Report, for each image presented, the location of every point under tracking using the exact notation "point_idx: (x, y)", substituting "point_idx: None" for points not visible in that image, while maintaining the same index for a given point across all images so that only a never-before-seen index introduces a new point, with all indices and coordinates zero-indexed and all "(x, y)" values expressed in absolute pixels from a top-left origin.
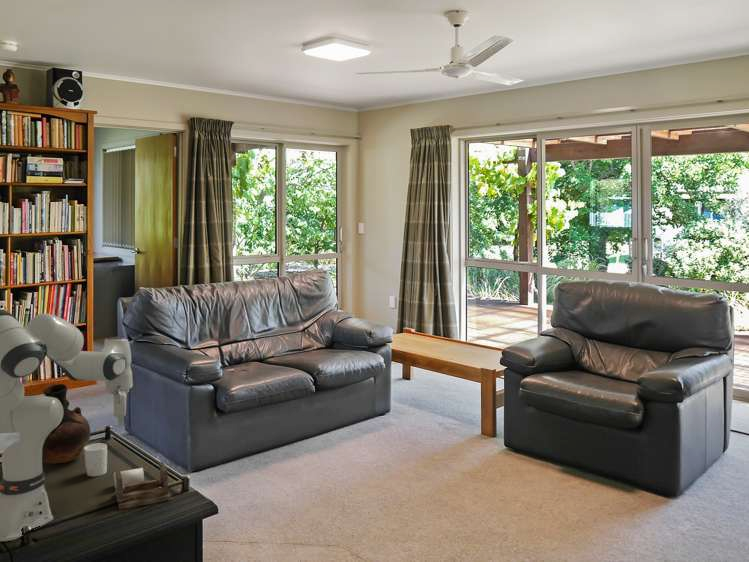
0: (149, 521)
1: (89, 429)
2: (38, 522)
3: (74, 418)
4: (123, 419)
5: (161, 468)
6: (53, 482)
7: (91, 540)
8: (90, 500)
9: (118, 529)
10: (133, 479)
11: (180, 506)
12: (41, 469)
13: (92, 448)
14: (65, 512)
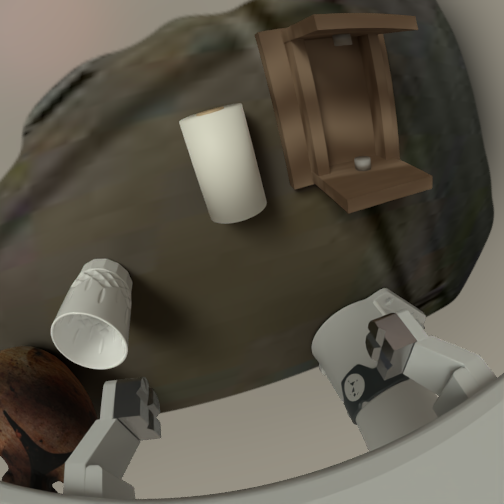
0: (460, 90)
1: None
2: (399, 305)
3: (17, 441)
4: (451, 345)
5: (368, 28)
6: (170, 354)
7: (479, 196)
8: (311, 244)
9: (467, 152)
10: (251, 141)
11: (411, 9)
12: (412, 386)
13: (70, 344)
14: (359, 277)
